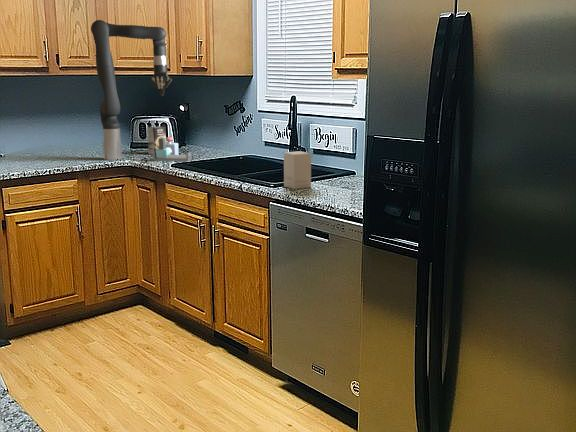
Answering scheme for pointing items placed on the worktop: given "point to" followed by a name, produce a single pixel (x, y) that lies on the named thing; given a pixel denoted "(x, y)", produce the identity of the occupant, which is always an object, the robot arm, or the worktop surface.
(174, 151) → the gauge box
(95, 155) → the worktop surface
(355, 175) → the worktop surface
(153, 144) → the coffee box
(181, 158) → the rail
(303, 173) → the supplement box
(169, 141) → the plunger
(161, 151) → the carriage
